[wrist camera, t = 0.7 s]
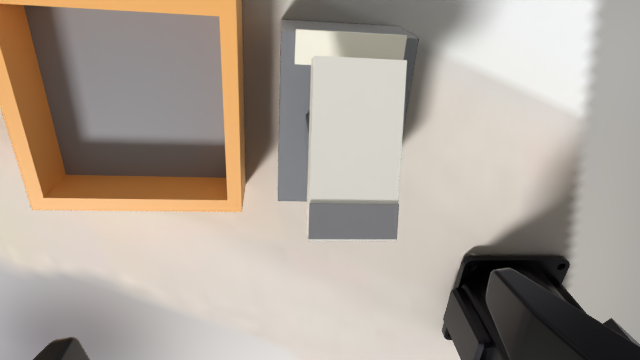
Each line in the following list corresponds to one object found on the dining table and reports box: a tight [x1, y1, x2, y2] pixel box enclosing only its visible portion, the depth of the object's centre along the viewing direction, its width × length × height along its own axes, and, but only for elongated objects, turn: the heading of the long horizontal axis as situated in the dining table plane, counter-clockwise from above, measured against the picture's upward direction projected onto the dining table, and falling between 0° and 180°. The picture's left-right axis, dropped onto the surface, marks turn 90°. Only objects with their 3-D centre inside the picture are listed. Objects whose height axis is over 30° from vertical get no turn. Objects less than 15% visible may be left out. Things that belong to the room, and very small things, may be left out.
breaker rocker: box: [306, 56, 407, 242], centre depth 14 cm, size 3×6×1 cm, turn 176°
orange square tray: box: [0, 0, 246, 212], centre depth 17 cm, size 9×9×2 cm
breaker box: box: [278, 19, 419, 201], centre depth 17 cm, size 5×7×5 cm
